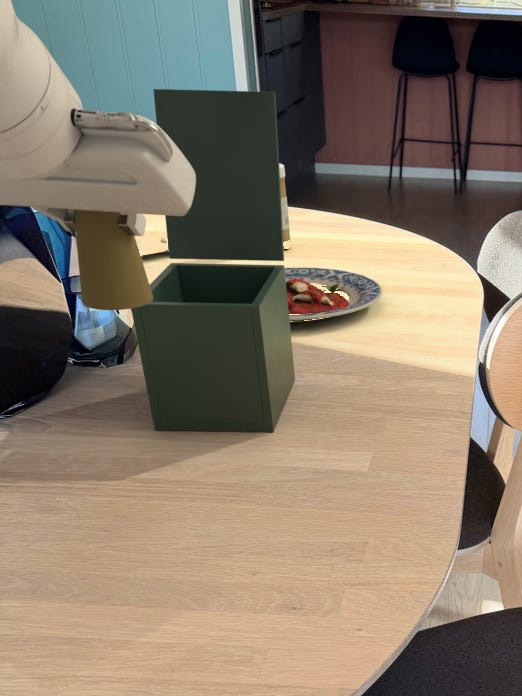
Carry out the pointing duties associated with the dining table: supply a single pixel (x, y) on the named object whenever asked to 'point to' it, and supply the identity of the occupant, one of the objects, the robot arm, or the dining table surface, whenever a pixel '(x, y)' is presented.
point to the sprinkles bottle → (284, 205)
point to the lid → (226, 174)
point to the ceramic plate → (322, 304)
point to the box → (216, 347)
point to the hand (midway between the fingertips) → (107, 226)
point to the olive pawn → (109, 263)
